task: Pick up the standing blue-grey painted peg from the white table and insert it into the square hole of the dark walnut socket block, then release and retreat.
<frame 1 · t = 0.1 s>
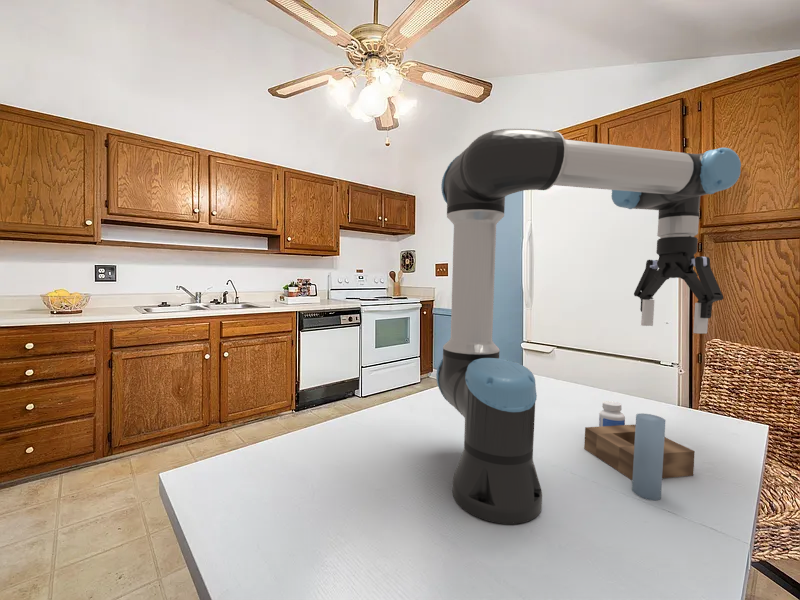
hand: (671, 329, 86), 28 cm above the table, fingers open, 13 cm apart
pill bottle: (611, 444, 90), on the table, touching socket block
peg: (646, 493, 67), on the table
socket block: (634, 461, 80), on the table
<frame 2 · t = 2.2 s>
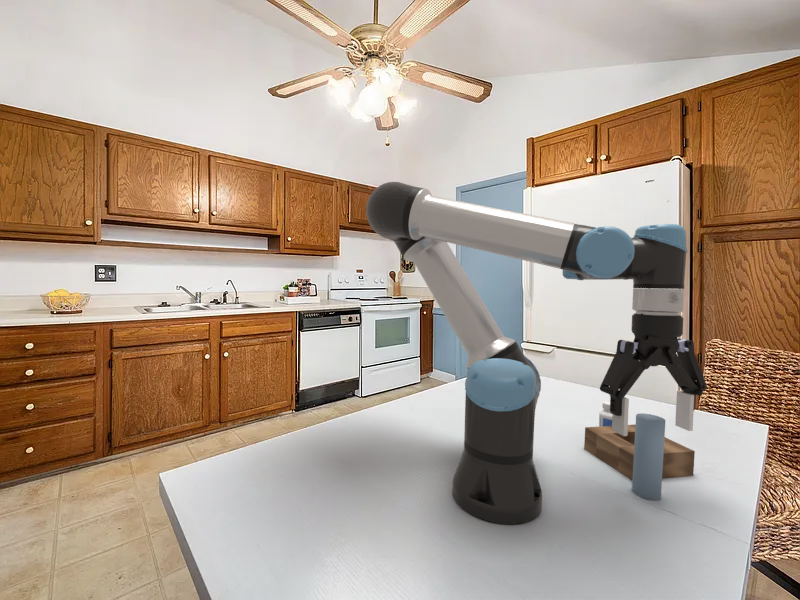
hand: (652, 430, 67), 12 cm above the table, fingers open, 13 cm apart
nothing on the table moved.
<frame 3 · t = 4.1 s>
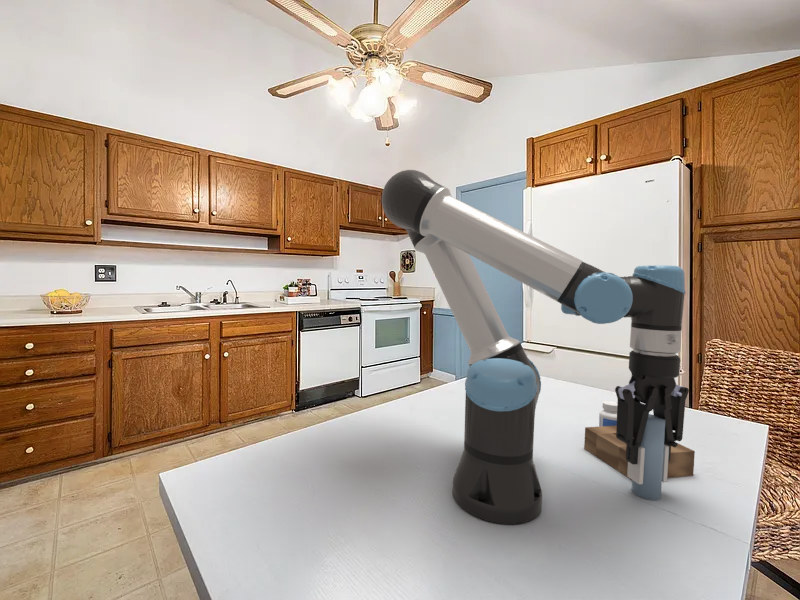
hand: (646, 478, 67), 3 cm above the table, fingers closed on peg, 4 cm apart
peg: (646, 493, 67), on the table, touching gripper
everything else where it was.
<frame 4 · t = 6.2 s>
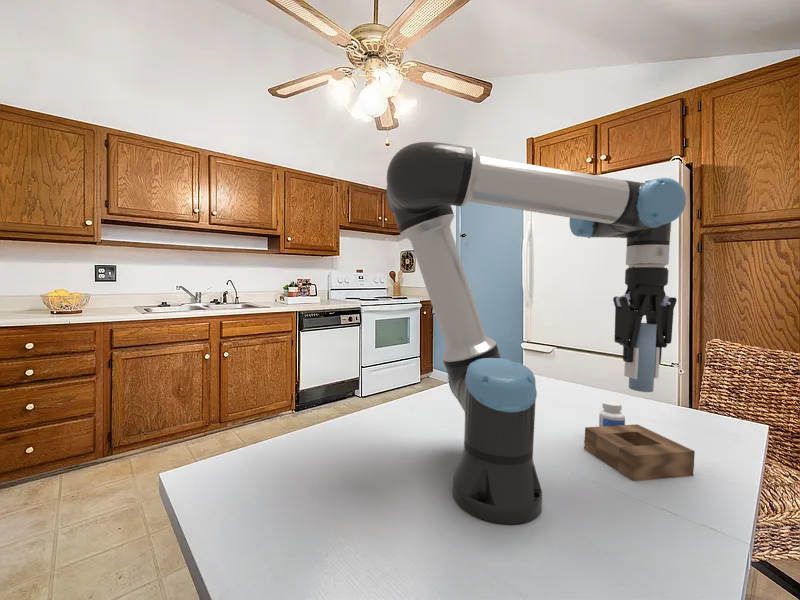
hand: (641, 376, 79), 19 cm above the table, fingers closed on peg, 4 cm apart
peg: (640, 389, 79), point 16 cm above the table, touching gripper
everything else where it was.
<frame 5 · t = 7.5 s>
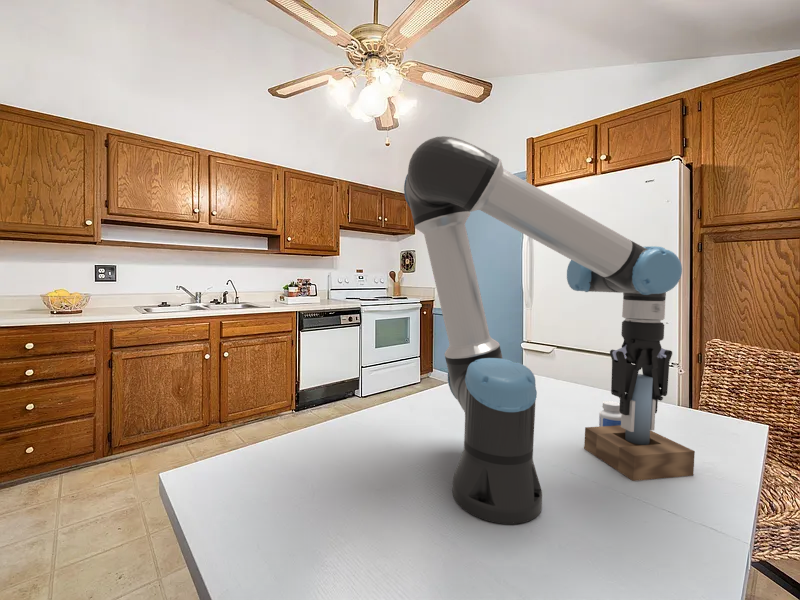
hand: (637, 428, 79), 7 cm above the table, fingers closed on peg, 4 cm apart
peg: (637, 440, 79), point 5 cm above the table, touching gripper
everything else where it was.
when the fingers open (6 cm above the table, at t = 8.4 s): peg drops 3 cm, resting in socket block.
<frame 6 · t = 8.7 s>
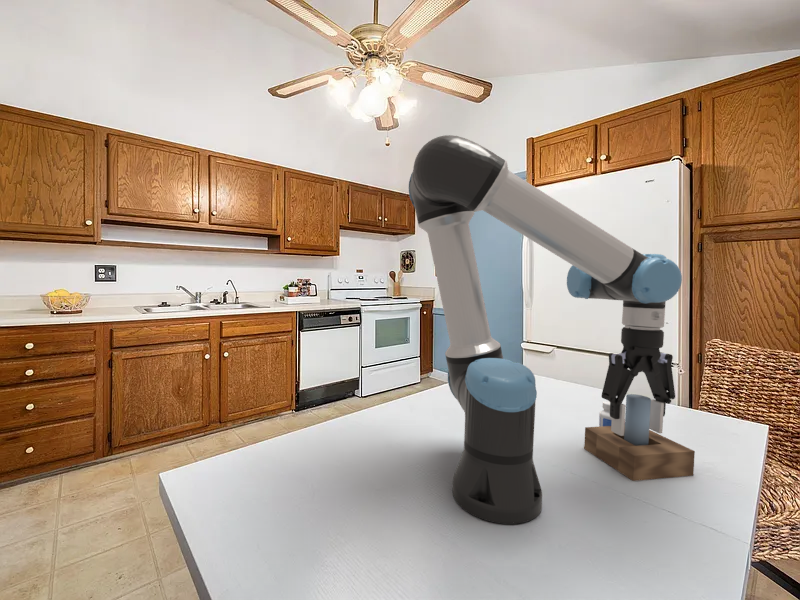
hand: (636, 431, 79), 6 cm above the table, fingers open, 9 cm apart
peg: (635, 461, 80), resting in socket block
everything else where it was.
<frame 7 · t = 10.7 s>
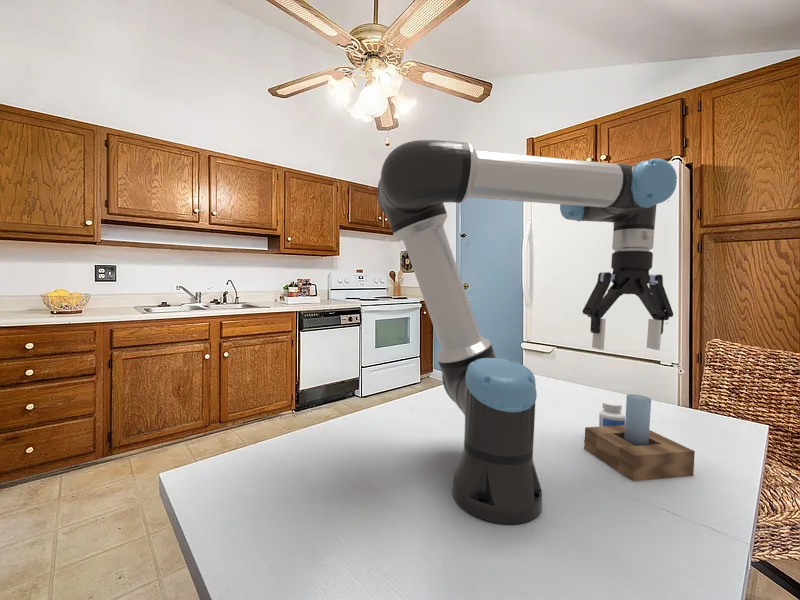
hand: (625, 348, 81), 24 cm above the table, fingers open, 13 cm apart
nothing on the table moved.
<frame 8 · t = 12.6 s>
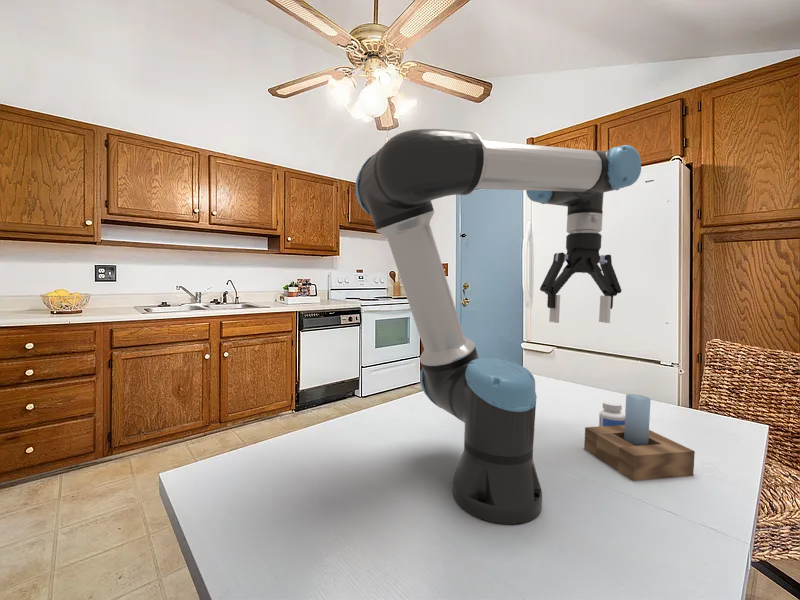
hand: (579, 322, 89), 29 cm above the table, fingers open, 13 cm apart
nothing on the table moved.
at the end: peg 0.1 cm off-centre on the socket block, point 0.0 cm above the socket block's base; peg tilted 0°; the gripper is holding nothing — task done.
